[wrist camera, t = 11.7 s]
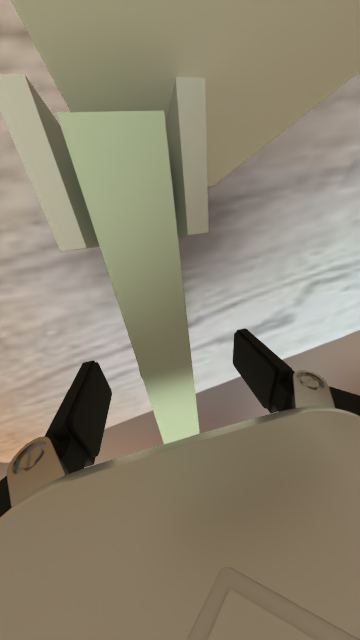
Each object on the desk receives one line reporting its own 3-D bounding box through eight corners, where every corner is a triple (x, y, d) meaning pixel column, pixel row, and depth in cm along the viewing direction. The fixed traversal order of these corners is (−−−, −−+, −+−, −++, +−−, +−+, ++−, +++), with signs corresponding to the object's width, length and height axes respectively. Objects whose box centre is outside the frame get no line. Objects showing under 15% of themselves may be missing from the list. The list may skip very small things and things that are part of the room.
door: (147, 205, 17) (163, 110, 5) (171, 340, 25) (199, 433, 13) (107, 209, 16) (6, 113, 4) (145, 346, 25) (149, 449, 13)
